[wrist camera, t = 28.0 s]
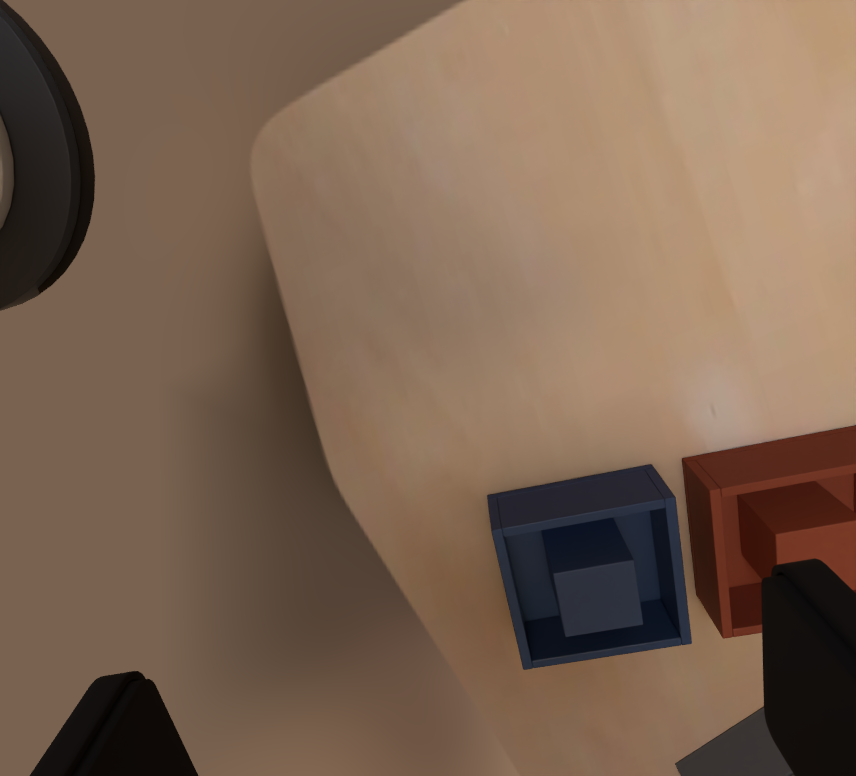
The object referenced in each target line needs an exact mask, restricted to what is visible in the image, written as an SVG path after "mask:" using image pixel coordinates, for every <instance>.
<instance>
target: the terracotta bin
mask: <svg viewBox="0 0 856 776" xmlns="http://www.w3.org/2000/svg"><path fill="white" fill-rule="evenodd" d="M682 462H683V472H684V481H685V491H686V500H687V510H688V519H689V529H690V538H691V547H692V557H693V566H694V576H695V585H696V595H697V596H698V598H699V599H700V601H701V603H702V605H703V606H704V608H705V609H706V611H707V613H708V614H709V616H710V618H711V619H712V621H713V623H714V624H715V626H716V628H717V629H718V631H719V633H720V634H721V636H722V638H730V637H737V636H743V635H750V634H756V633H762V598H761V583H762V579H761V578H760V577H759V576H758V574H757V573H756V572H755V570H754V569H753V568H752V567H751V565H750V564H749V563H748V562H747V560H746V559H745V558H744V557H743V555H742V550H741V536H740V523H739V509H738V495H739V494H744V493H750V492H755V491H761V490H766V489H772V488H777V487H783V486H788V485H794V484H799V483H805V482H811V481H816V482H817V483H818V484H820V485H821V486H822V487H823V488H825V489H826V490H827V491H828V492H830V493H831V494H832V495H833V496H835V497H836V498H837V499H838V500H839V501H841V502H842V503H843V504H844V505H846V506H847V507H848V508H849V509H851V510H852V511H853V512H854V513H856V426H851V427H845V428H840V429H835V430H830V431H824V432H819V433H814V434H809V435H803V436H798V437H793V438H787V439H782V440H777V441H772V442H766V443H761V444H756V445H751V446H745V447H740V448H735V449H729V450H724V451H719V452H714V453H708V454H703V455H698V456H692V457H687V458H683V459H682ZM853 591H854V592H855V593H856V590H853Z"/></svg>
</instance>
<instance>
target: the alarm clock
mask: <svg viewBox="0 0 856 776" xmlns="http://www.w3.org/2000/svg"><path fill="white" fill-rule="evenodd" d="M675 765H676V767H677V769H678V771H679V773H680V775H681V776H795V775H794V774H793V772H792V770H791V769H790V767H789V765H788V764H787V762H786V761H785V759H784V757H783V756H782V754H781V752H780V751H779V749H778V747H777V746H776V744H775V742H774V740H773V739H772V737H771V734H770V732H769V729H768V727H767V724H766V720H765V714H764V707H763V708H762V709H760V710H758V711H757V712H755V713H754V714H752V715H751V716H749V717H748V718H746V719H744V720H743V721H741V722H740V723H738V724H737V725H735V726H734V727H732V728H730V729H729V730H727V731H726V732H724V733H723V734H721V735H720V736H718V737H717V738H715V739H713V740H712V741H710V742H709V743H707V744H706V745H704V746H703V747H701V748H699V749H698V750H696V751H695V752H693V753H692V754H690V755H689V756H687V757H685V758H684V759H682V760H681V761H679V762H678V763H676V764H675Z"/></svg>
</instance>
